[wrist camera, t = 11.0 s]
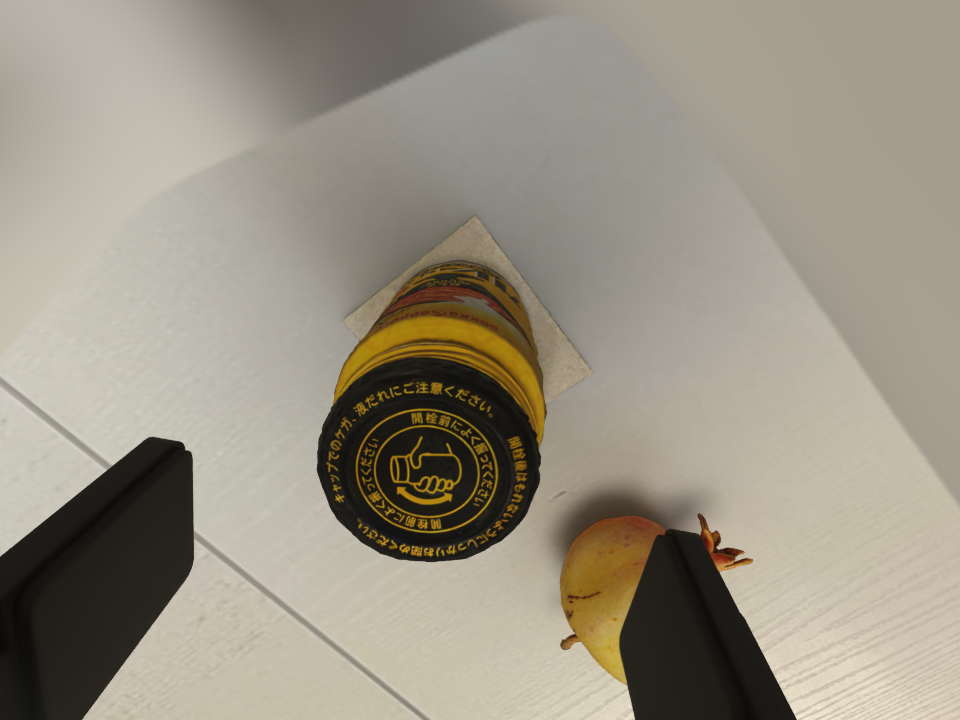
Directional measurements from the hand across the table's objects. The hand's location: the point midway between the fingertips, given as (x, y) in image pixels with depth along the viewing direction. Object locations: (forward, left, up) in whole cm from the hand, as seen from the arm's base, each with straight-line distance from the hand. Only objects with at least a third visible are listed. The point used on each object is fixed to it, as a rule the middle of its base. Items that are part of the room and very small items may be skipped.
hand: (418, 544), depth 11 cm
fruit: (+9, +10, -14) cm, 19 cm away
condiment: (0, 0, -14) cm, 14 cm away
